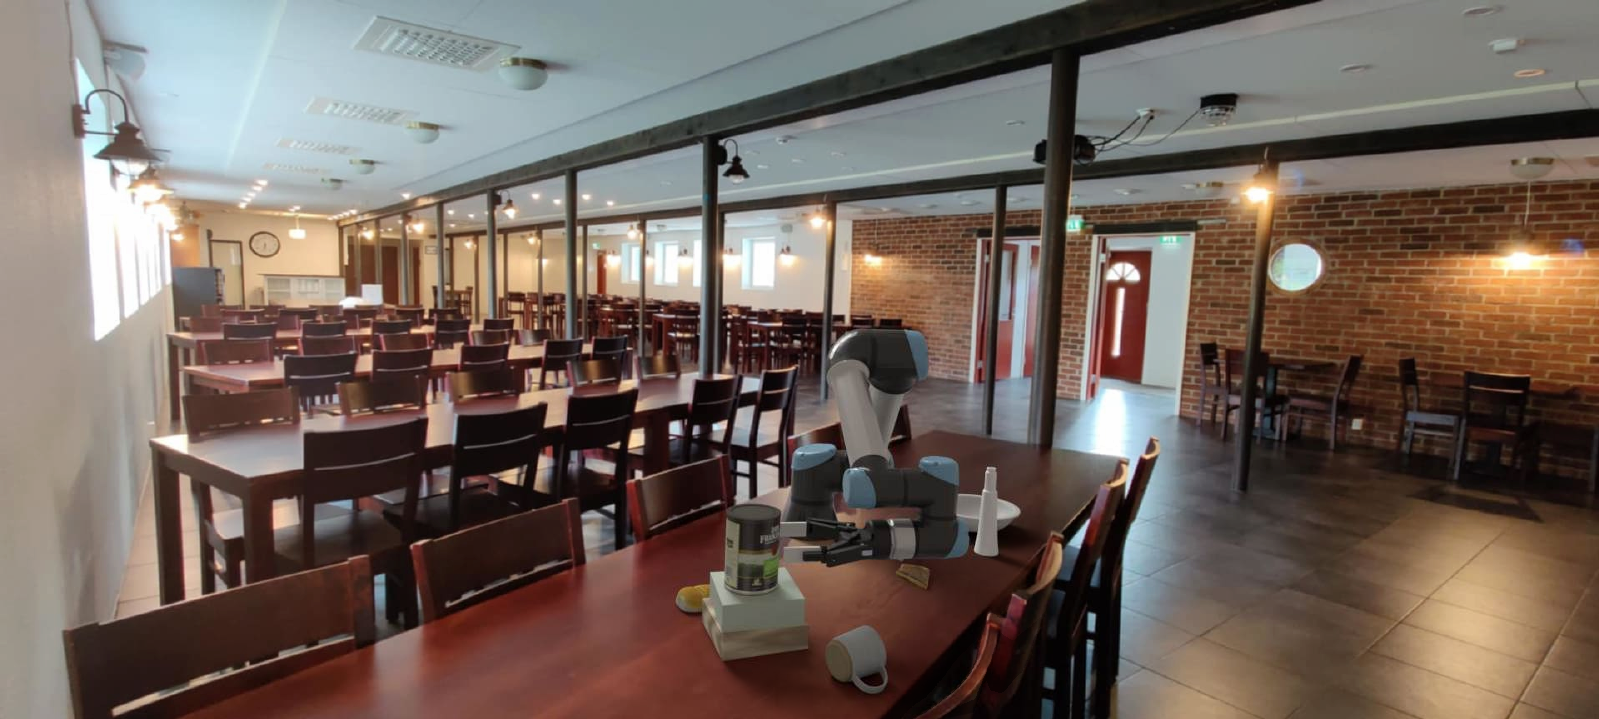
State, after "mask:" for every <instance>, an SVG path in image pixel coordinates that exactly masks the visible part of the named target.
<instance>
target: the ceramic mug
mask: <svg viewBox="0 0 1599 719" xmlns="http://www.w3.org/2000/svg"><path fill="white" fill-rule="evenodd" d="M824 657H825V662H826V666H827V668H828V670H829V672H830V674H831V675H832V676H833V677H834V678H835V679H836V680H837V681H839V682H840V683H841V682H842V683H848V682H850V683H851V682H853V684H854V685H855V686H856V687H857V688H858V689H860V690H861V692H864V693H866V694H870V695H876V694H879V693H881V692H883V690H884V689H885V688H886V686H887V684H888V673H887V669H886V667H885V666H886V663H887V651H886V647H885V643H884V640H883V639H882V636H880V634H879V633H878V631H876V629H875V628H874V627H872V626H871V625H865V624H864V625H861V626H860V627H859V626H858V627H857V628H854V629H852V630H850V631H847V632H845V633H842V634H840V635H837V636H836V637H834V638H833V639H831V640H830V641H829V642H828V644H827V645H826V648H825V655H824ZM877 673H880V675H881V677H882V680H883V682H882V683H883V684H881V685H878V686H870V685H868V684H865V683H864V682H863V681H862V680H861V678H864V677H868V676H871V675H873V674H874V675H875V674H877Z"/></svg>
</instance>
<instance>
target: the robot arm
mask: <svg viewBox="0 0 1599 719" xmlns="http://www.w3.org/2000/svg"><path fill="white" fill-rule="evenodd" d="M929 368H930V357H929V347H928V344H927V340H926V338H925V336H924V335H923V333H922V332H920V331H918V330H910V329H909V330H908V329H906V328H905V329H882V328H880V329H879V328H878V329H877V328H876V329H875V328H869V329H868V328H856V329H853V330H850V331H848V332H845V333H844V334H842V335H841V336H840V337H839V338H838V339H836V341H835V342H834V343H833V344H832V346H831V348H830V349H829V351H828V353H827V356H826V358H825V364H824V371H825V372H824V373H825V378H826V382H827V384H828V386H829V387H830V389H832V390H833V395H834V397H835V398H834V399H835V403H836V407H837V412H838V416H839V422H840V426H841V431H842V435H843V441H844V445H845V448H846V449H839V450H837V447H836V445H834V444H832V443H811V444H807V445H803V446H801V447H798V448H796V449H795V450H794V452H793V453H792V461H791V465H790V468H791V485H790V486H791V487H790V503H789V506H788V509H787V512H786V514H785V517H784V519H783V521H780V538H783V537H784V538H786V537H787V538H789V537H790V538H793V539H794V538H795V539H798V540H805V541H823V540H830V541H834V543H832V544H830V545H825V544H821V545H812V546H811V545H809V546H808V545H804V546H802V545H800V546H783V551H782V552H783V554H782V563H783V564H797V563H799V564H802V563H807V564H808V563H820V564H824V565H825V567H826V568H835V567H839V566H842V565H847V564H850V563H854V562H859V561H862V560H863V561H864V560H870V561H878V560H879V561H881V560H883V561H886V560H888V559H890V560H898V561H899V562H903V561H904V560H905V559H906V560H910V559H912V560H913V559H942V560H945V559H953V558H955V559H956V558H960V557H962V556H964V555H965V554H966V553H967V552H968V549H969V545H970V536H969V531H968V528H967V525H966V523H965V521H964V520H962V519H960V518H957V516H956V514H957V513H956V512H957V499H958V494H959V486H960V483H959V482H960V477H959V475H960V472H959V471H960V470H959V464H958V462H957V461H956V460H954V459H953V458H949V457H947V456H940V455H939V456H937V455H929V456H924V457H922V458H921V459H920V460H919V464H918V467H909V468H908V467H903V468H902V467H900V468H899V467H897V468H895V467H894V466H895V464H894V459H893V455H892V453H891V452H890V450H889V449H888V446H889V443H890V440H891V438H892V434H893V431H894V428H895V426H896V421H897V418H898V414H899V412H900V409H901V406H902V401H903V400H904V395H905V394H908V393H909V392H910V391H912V389H913V387H914V385H915V382H916V381H919V382H921V381H924V380H925V379H927V378H928V374H929ZM868 383H869V384H868ZM835 494H837V495H839V494H842V495H843V499H844V503H845V504H846V506H848V507H849V508H851V509H859V510H861V509H865V510H874V509H917V510H916V512H917V513H916V514H917V518H889V519H887V520H886V519H885V518H884V519H883V518H882V519H879V518H877V519H876V518H875V519H868V520H866V522H865V525H864V527H863V528H858V527H857V526H856V522H854V521H839V519H838V515H837V512H836V509H835V508H836V507H835V504H834V502H835V501H834V500H835Z"/></svg>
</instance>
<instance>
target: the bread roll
mask: <svg viewBox="0 0 1599 719" xmlns="http://www.w3.org/2000/svg"><path fill="white" fill-rule="evenodd" d="M702 598H710V584H699V585H694V586H684V587H683V588H681V589H680V590H679V591H678V593H677V595H676V599H675V603H676V606H677V607H678V608H679V609H680V610H681V611H683V612H687V613H702Z"/></svg>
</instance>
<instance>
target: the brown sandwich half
mask: <svg viewBox="0 0 1599 719" xmlns="http://www.w3.org/2000/svg"><path fill="white" fill-rule="evenodd" d="M930 573H931V571H930V569H929V568H927V567H925V566H922V565H915V564H911V563H909V564H908V563H902V564H901V565H900V568H899V569H897V570H896V571H895V574H896V576H899V577H901V578H904V579H906V580H907V581H908V582H910V583H912V584H913V585H916V586H918V587H921V588H923V589H925V590H928V587H929V579H930Z"/></svg>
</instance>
